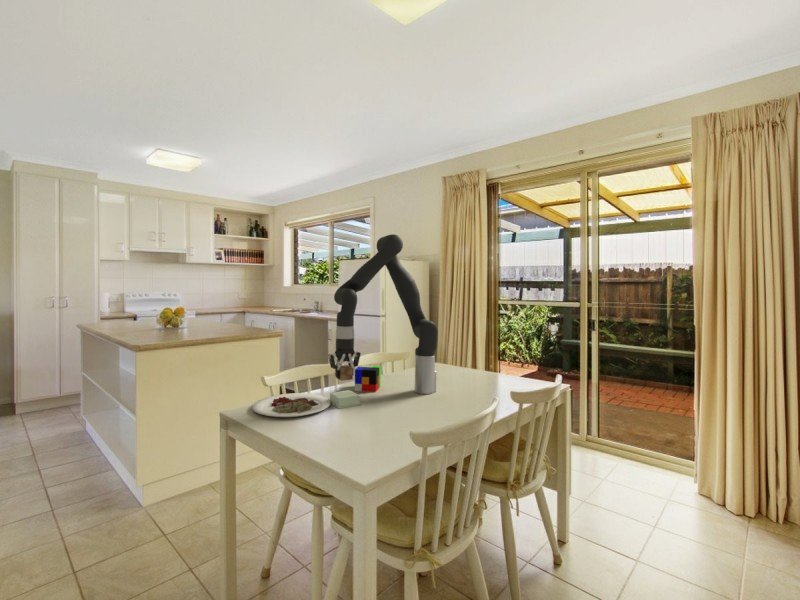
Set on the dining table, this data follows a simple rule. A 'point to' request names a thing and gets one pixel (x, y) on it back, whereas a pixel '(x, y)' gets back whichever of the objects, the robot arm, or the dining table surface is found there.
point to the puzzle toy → (367, 378)
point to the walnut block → (346, 372)
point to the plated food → (291, 405)
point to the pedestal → (344, 399)
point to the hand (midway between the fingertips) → (344, 377)
